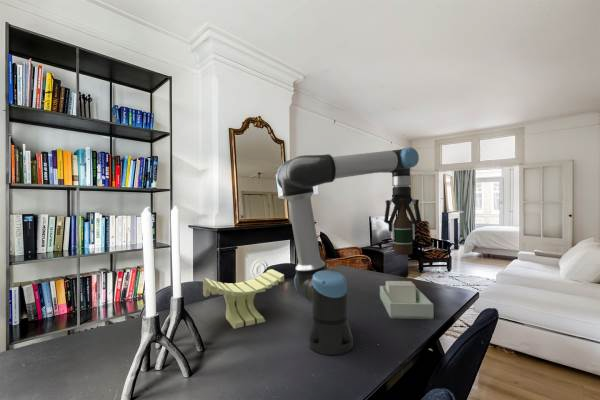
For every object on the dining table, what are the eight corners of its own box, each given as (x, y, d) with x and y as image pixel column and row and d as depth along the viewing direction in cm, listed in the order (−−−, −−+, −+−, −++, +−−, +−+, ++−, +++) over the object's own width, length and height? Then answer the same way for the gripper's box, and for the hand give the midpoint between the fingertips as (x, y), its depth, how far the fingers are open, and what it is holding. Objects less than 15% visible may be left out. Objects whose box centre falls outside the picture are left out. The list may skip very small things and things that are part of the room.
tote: (390, 318, 120) (390, 303, 120) (380, 297, 146) (379, 285, 146) (433, 319, 118) (433, 304, 118) (415, 298, 144) (415, 286, 144)
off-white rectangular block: (389, 302, 136) (388, 285, 136) (385, 297, 144) (385, 280, 144) (415, 303, 135) (415, 285, 135) (411, 297, 143) (410, 281, 143)
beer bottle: (409, 251, 130) (408, 197, 131) (415, 254, 123) (413, 197, 123) (392, 251, 131) (390, 198, 131) (396, 255, 123) (394, 198, 124)
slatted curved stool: (269, 306, 137) (269, 267, 137) (284, 317, 123) (284, 274, 123) (203, 319, 122) (202, 276, 122) (211, 333, 108) (211, 285, 109)
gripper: (423, 186, 130) (424, 237, 130) (375, 187, 132) (377, 238, 132) (429, 185, 122) (430, 239, 122) (378, 186, 124) (380, 240, 124)
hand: (402, 239), depth 127 cm, fingers closed on beer bottle, 8 cm apart
